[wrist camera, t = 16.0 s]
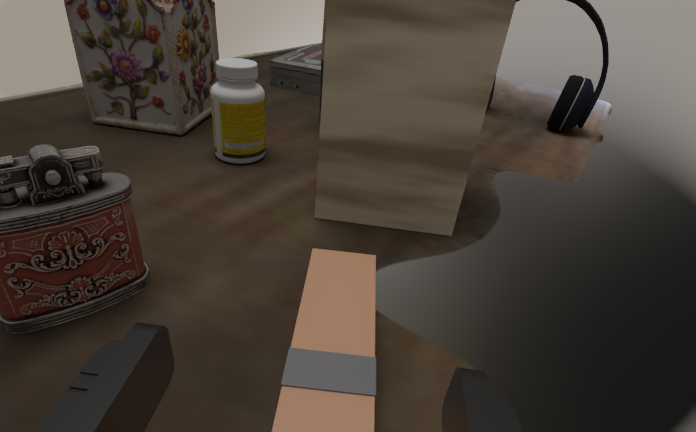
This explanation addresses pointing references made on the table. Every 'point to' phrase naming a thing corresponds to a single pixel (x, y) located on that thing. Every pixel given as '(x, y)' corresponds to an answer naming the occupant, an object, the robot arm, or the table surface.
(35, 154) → the lighter
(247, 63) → the supplement bottle
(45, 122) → the table surface
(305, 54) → the hard drive
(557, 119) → the headphones
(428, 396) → the table surface
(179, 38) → the decorative jar
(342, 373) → the bar
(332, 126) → the socket tower
